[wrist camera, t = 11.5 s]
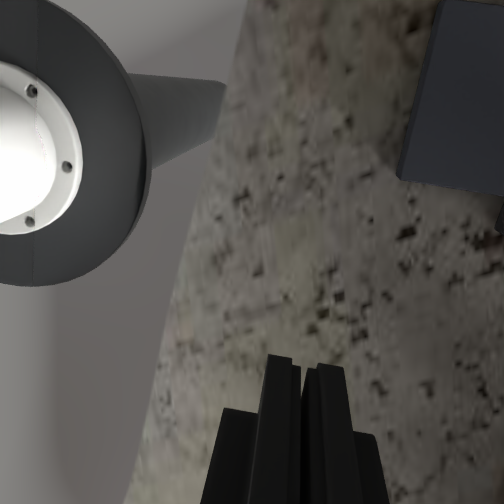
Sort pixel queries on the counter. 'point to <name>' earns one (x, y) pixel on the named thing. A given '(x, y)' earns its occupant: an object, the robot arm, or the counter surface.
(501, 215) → the black notched block
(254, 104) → the counter surface
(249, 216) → the counter surface
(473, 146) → the charcoal pad
